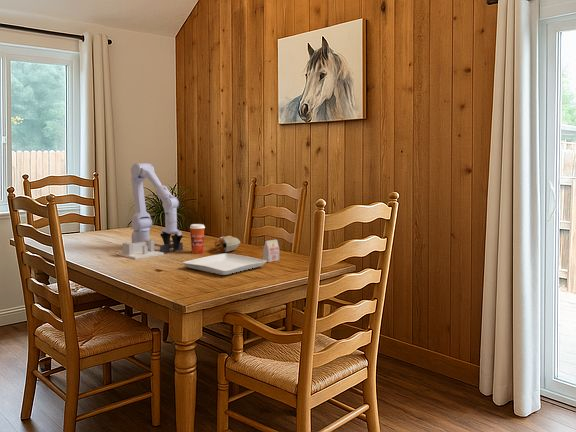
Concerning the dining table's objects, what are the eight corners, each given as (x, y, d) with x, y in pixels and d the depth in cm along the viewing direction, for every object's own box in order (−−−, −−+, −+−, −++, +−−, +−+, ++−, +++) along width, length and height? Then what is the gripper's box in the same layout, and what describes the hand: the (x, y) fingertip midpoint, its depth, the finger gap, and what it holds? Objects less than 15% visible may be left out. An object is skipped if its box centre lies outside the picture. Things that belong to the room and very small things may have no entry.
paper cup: (190, 254, 289) (190, 226, 287) (189, 251, 296) (188, 224, 294) (206, 253, 291) (206, 225, 289) (204, 250, 298) (204, 223, 296)
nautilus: (218, 257, 284) (197, 255, 293) (248, 249, 300) (227, 247, 309) (216, 241, 282) (195, 239, 292) (246, 233, 299) (225, 232, 308)
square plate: (225, 260, 277) (225, 252, 277) (268, 268, 260) (268, 259, 260) (180, 269, 257) (180, 260, 256) (224, 279, 239) (224, 269, 239)
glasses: (148, 250, 298) (148, 242, 297) (169, 247, 307) (169, 239, 307) (161, 253, 290) (161, 245, 289) (183, 250, 299) (183, 242, 299)
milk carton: (263, 261, 273) (263, 240, 272) (274, 259, 277) (274, 239, 276) (268, 262, 270) (268, 241, 269) (279, 261, 275) (279, 240, 273)
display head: (117, 254, 286) (116, 242, 285) (145, 250, 298) (145, 238, 297) (135, 259, 275) (135, 246, 275) (163, 254, 287) (163, 242, 286)
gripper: (186, 222, 291) (186, 248, 293) (169, 219, 301) (169, 245, 303) (174, 223, 286) (175, 250, 288) (157, 220, 296) (158, 247, 298)
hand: (171, 248), depth 295 cm, fingers open, 7 cm apart
